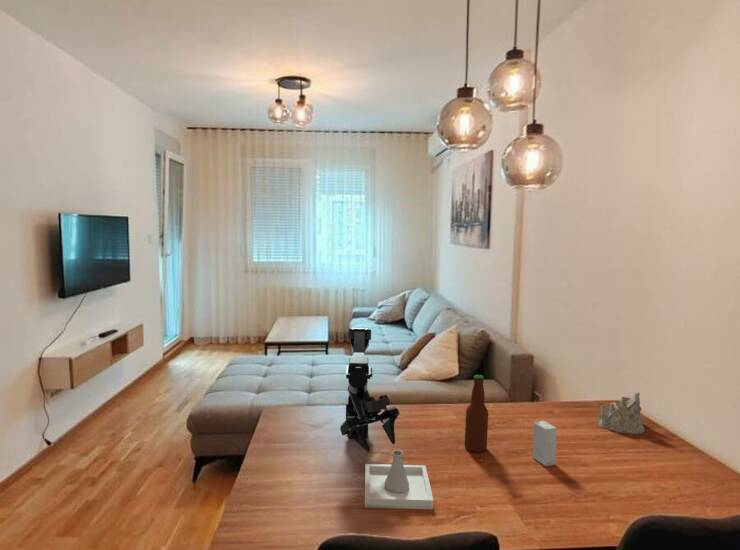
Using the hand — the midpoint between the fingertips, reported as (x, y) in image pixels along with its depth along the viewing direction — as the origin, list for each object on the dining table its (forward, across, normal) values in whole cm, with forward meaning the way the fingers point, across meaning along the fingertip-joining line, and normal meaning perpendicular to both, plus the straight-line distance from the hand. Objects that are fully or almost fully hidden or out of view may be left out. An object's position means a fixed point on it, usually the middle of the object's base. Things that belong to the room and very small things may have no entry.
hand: (381, 447), depth 137 cm
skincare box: (+21, +50, -8) cm, 54 cm away
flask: (+11, 0, +1) cm, 11 cm away
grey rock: (+20, +100, -7) cm, 103 cm away
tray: (+12, 0, +1) cm, 12 cm away
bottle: (+8, +38, +5) cm, 39 cm away
